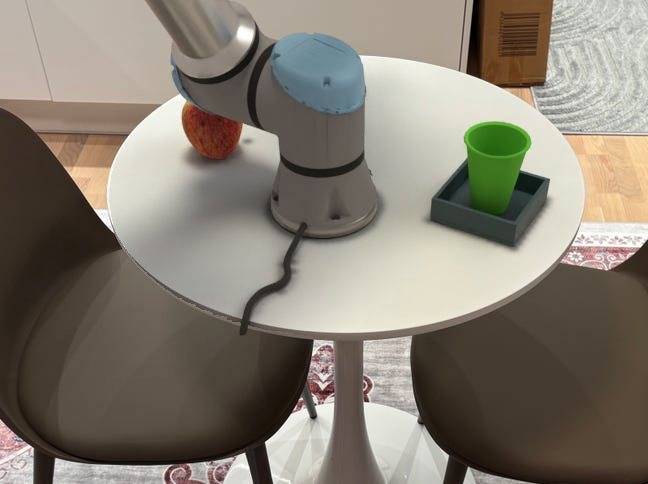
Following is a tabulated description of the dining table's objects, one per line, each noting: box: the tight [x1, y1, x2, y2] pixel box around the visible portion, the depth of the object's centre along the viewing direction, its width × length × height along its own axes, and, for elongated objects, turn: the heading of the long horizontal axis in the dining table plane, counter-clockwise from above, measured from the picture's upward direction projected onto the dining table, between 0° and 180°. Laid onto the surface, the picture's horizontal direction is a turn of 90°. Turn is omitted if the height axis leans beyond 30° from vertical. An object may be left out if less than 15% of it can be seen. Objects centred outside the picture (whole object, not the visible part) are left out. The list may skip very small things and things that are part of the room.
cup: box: [463, 120, 532, 216], centre depth 117 cm, size 9×9×11 cm
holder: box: [429, 157, 551, 247], centre depth 120 cm, size 13×13×4 cm
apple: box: [180, 100, 244, 160], centre depth 128 cm, size 9×9×10 cm
